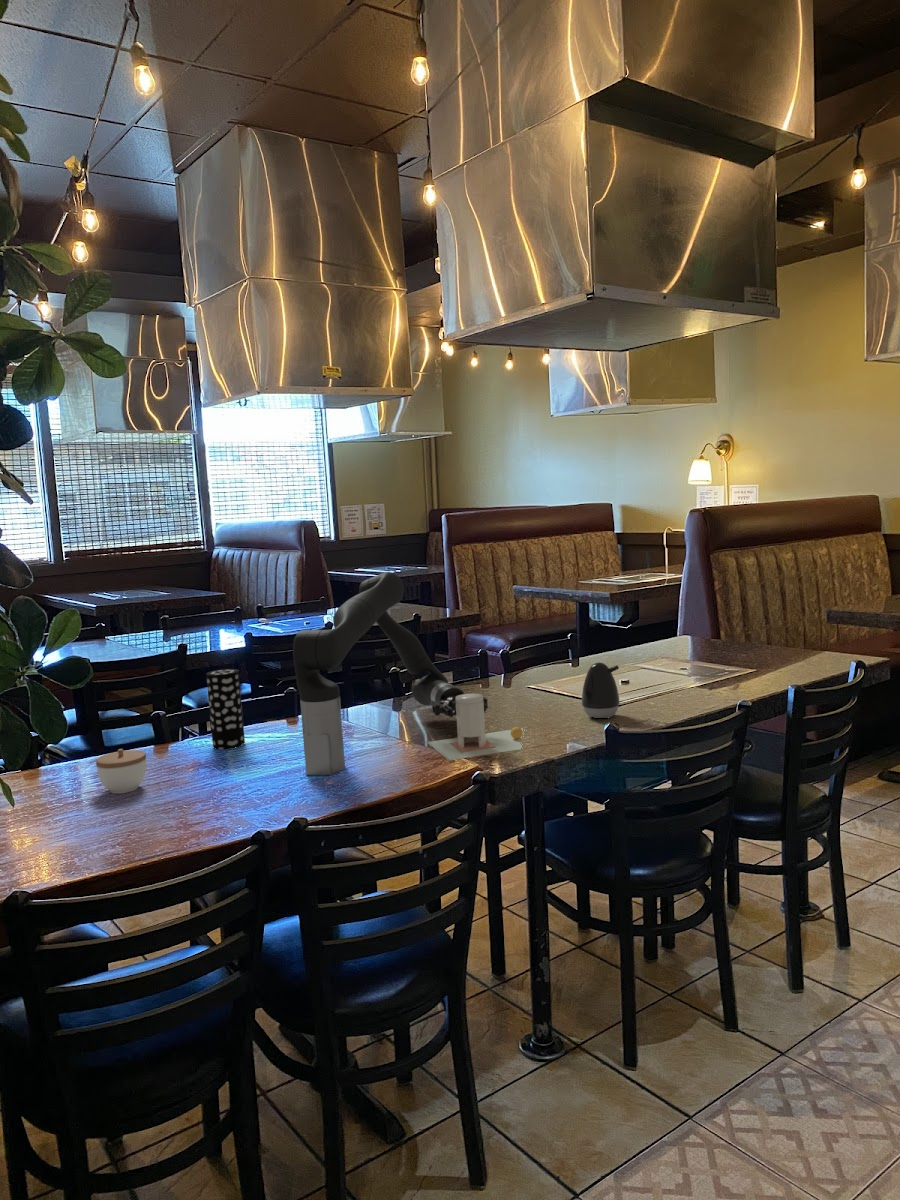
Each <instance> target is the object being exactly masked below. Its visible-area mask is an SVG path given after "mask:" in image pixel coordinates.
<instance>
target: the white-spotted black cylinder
mask: <svg viewBox="0 0 900 1200" xmlns="http://www.w3.org/2000/svg"><path fill="white" fill-rule="evenodd" d="M239 671H240V670H239V669H236V668H226V669H225V668H224V669H215V670H212V671H211V670H210V671H209V672H206V684H207V693H208V694H207V696H208V705H209V707H208V708H209V719H210V726H211V727H210V728H211V739H212V748H213V747H214V748H216V749H215V750H217V749H229V750H232V749H231V748H235V747H239V746H241V745H243V744H244V743H245V744H246V742H245V741H246V739H245V731H244V730H245V729H244V728H245V727H244V715H243V706H242V695H241V694H242V692H241V684H240V683H241V682H240V672H239ZM243 746H244V745H243ZM241 747H242V746H241ZM214 748H213V749H214ZM239 748H240V747H239ZM235 749H236V748H235Z"/></svg>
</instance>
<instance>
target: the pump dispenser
mask: <svg viewBox="0 0 900 1200" xmlns="http://www.w3.org/2000/svg"><path fill="white" fill-rule="evenodd" d="M619 669H620V668H619V665H614V666H611V667H608V666H607V664H605V663H603V662H595V663H593V664H591V666H590V667H589V670H588V671H587V673H586V675H585V679H584V682H583V686H582V695H581V706H582V707H583V711H584V712H585V714H586V715H587V716H588V717H590V718H591V717H594V718H608V717H610V718H612V717H613V715H614V716H615V715H616V713H617V711H618V709H619V705H620V695H619V690H618V686H617V683H616V680H615V677H614V675H613V674H612V673H614V672H616V671H617V670H619ZM594 718H593V719H594ZM608 719H609V718H608Z"/></svg>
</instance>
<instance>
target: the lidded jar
mask: <svg viewBox="0 0 900 1200" xmlns="http://www.w3.org/2000/svg"><path fill="white" fill-rule="evenodd" d="M146 754H147V753H146V752H145V751H143V750H138V749H130V750H129V749H128V750H124V749H123V748H119V749H117V751H114V752H110V753H106V754H104V755H101V756H99V757H98V758H97V759H96V760H95V763H96V769H97V774H98V778H99V782H100V783H101V784H102V786H103V787H104V788H105V789H107V790H108V791H109V792H110V793H111V794H114V795H115V794H126V793H131V792H134V791H136V790H138V789H139V786H140V785H141V784H142V783H143V781H144V779H145V777H146V772H147V759H146V758H147V755H146Z"/></svg>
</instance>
